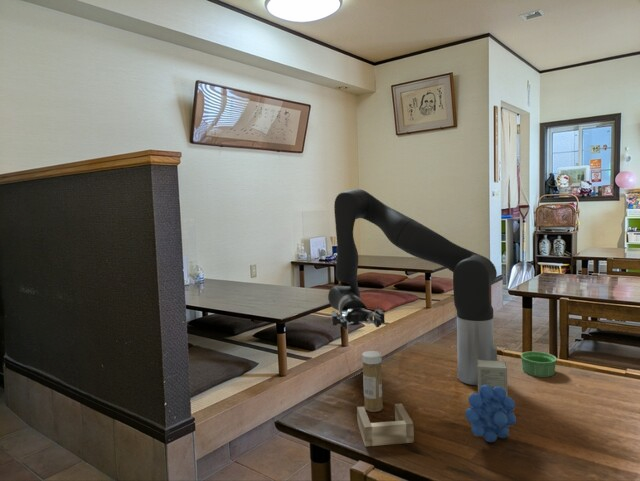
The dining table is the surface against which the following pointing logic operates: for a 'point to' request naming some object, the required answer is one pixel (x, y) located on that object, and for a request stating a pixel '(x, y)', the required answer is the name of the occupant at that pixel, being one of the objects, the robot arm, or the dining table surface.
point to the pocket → (386, 428)
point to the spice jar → (372, 381)
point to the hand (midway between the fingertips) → (362, 324)
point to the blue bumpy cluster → (491, 413)
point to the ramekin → (538, 363)
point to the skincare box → (492, 374)
